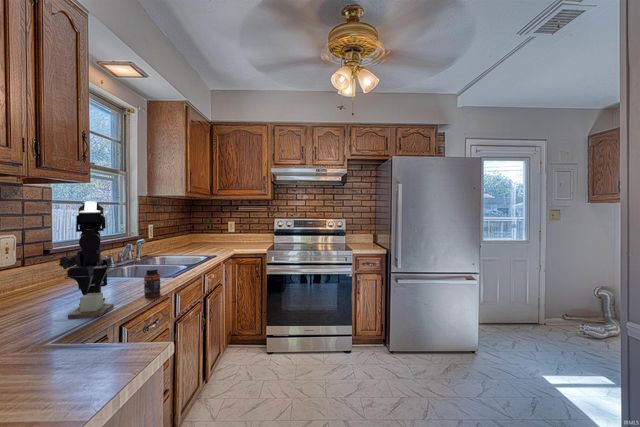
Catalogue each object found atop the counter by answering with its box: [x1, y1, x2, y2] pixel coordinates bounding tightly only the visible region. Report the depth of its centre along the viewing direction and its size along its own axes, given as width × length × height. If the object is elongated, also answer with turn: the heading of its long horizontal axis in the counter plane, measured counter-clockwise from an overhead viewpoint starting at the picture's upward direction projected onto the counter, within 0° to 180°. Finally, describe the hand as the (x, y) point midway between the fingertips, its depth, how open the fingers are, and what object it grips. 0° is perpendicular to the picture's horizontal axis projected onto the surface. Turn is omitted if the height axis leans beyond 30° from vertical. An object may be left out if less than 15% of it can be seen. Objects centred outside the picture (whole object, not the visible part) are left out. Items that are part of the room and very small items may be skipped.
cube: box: [79, 292, 104, 312], centre depth 113 cm, size 5×5×5 cm
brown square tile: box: [67, 303, 115, 319], centre depth 113 cm, size 10×10×1 cm
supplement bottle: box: [143, 267, 161, 299], centre depth 133 cm, size 6×6×11 cm
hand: (91, 291), depth 113 cm, fingers open, 9 cm apart
